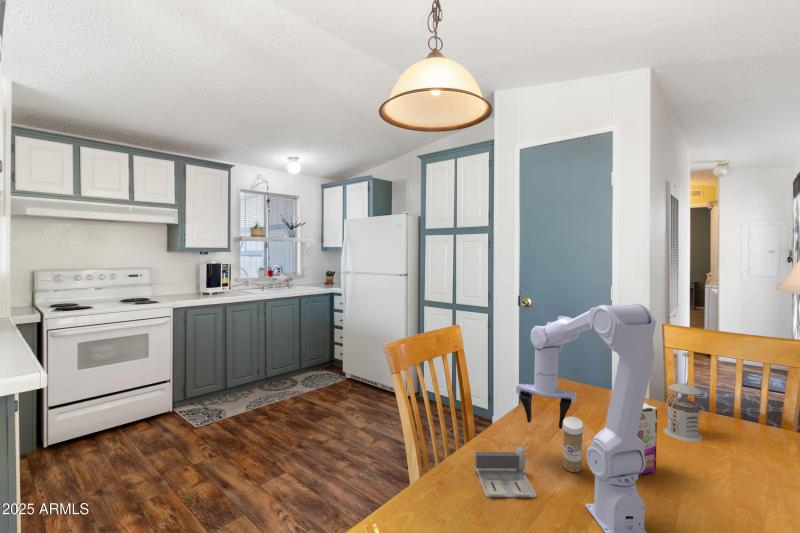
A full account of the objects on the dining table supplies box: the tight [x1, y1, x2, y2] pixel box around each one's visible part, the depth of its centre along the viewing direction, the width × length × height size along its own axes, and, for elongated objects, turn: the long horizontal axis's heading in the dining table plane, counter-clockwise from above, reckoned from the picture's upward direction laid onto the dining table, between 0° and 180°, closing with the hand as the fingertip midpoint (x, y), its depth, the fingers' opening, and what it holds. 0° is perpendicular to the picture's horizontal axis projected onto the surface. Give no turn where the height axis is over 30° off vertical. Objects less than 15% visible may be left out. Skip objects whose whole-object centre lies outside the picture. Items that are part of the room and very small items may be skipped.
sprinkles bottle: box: [562, 416, 584, 473], centre depth 99 cm, size 5×5×13 cm
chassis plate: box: [475, 467, 537, 498], centre depth 95 cm, size 12×11×1 cm
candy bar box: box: [606, 401, 658, 477], centre depth 100 cm, size 11×5×16 cm, turn 105°
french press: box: [662, 351, 704, 443], centre depth 120 cm, size 10×12×25 cm
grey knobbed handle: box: [474, 446, 527, 471], centre depth 99 cm, size 2×12×5 cm, turn 91°
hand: (544, 424), depth 104 cm, fingers open, 7 cm apart
